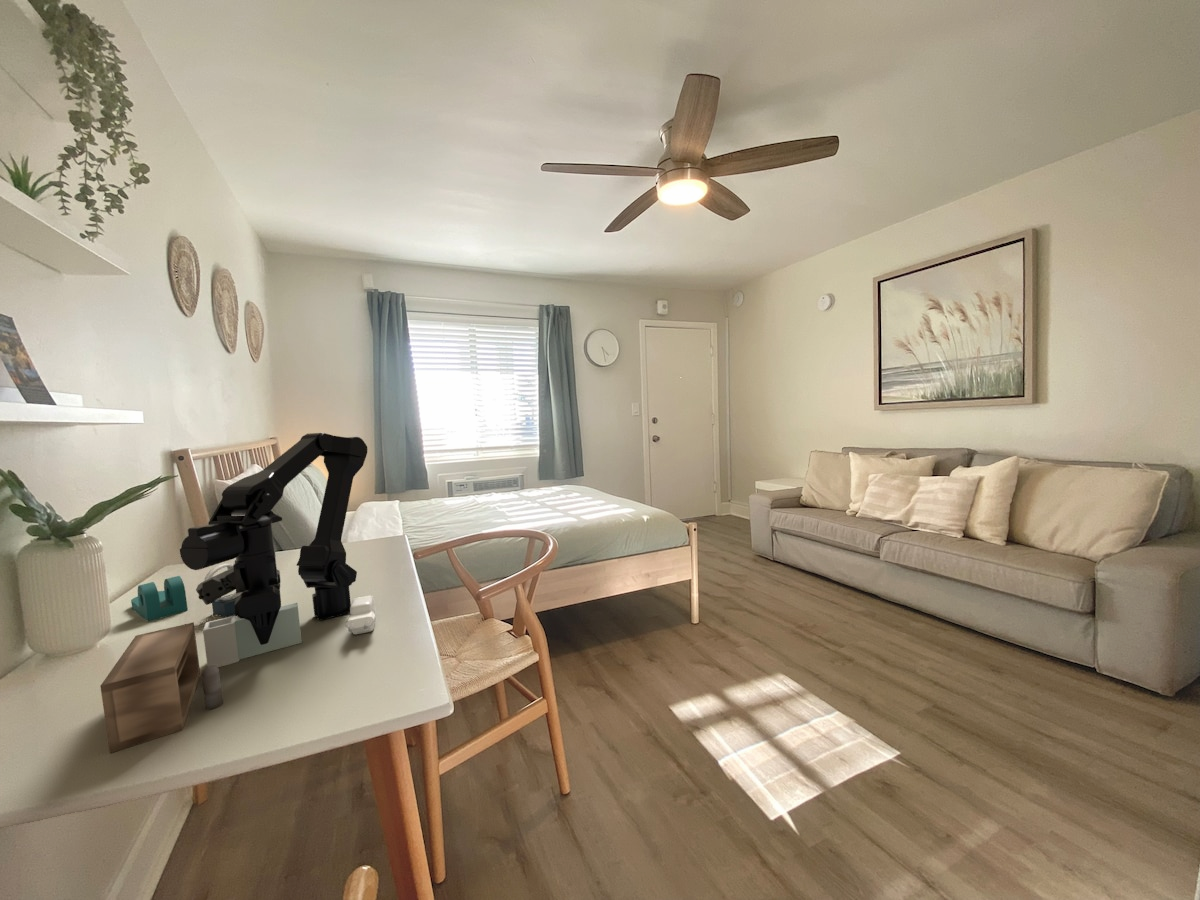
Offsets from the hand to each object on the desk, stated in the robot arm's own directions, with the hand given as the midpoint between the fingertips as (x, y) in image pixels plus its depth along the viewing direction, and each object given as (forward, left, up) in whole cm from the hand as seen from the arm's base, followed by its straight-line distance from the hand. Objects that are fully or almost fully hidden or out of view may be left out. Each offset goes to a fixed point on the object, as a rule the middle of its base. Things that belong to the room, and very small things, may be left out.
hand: (264, 634), depth 86 cm
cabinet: (+11, +12, -3) cm, 16 cm away
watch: (+7, -29, -3) cm, 30 cm away
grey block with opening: (+1, 0, -3) cm, 3 cm away
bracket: (+22, -45, -3) cm, 50 cm away
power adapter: (-15, +6, -3) cm, 17 cm away
